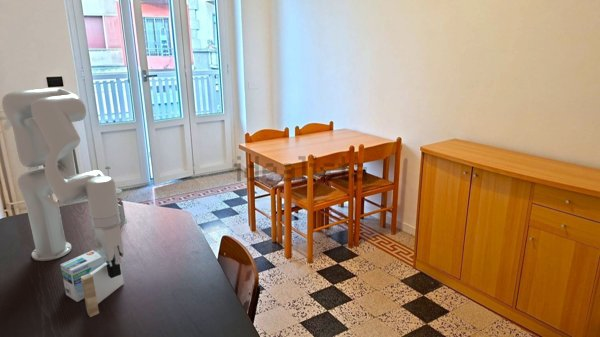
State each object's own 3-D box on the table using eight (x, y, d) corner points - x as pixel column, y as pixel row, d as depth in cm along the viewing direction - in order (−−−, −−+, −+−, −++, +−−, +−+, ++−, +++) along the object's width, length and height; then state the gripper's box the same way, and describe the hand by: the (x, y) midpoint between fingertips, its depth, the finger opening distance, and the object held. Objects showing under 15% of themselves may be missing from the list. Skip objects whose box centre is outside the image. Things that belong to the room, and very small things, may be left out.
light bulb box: (77, 302, 125) (70, 271, 121) (65, 295, 128) (58, 264, 125) (110, 285, 133) (105, 255, 130) (97, 278, 137) (92, 249, 133)
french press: (122, 227, 172) (114, 169, 164) (94, 227, 172) (84, 169, 165) (132, 217, 182) (124, 162, 174) (105, 217, 182) (96, 162, 174)
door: (90, 309, 121) (84, 279, 118) (87, 309, 121) (81, 278, 118) (123, 283, 134) (119, 255, 130) (120, 282, 134) (116, 255, 131)
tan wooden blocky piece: (67, 287, 132) (60, 253, 128) (75, 284, 134) (69, 250, 130) (90, 317, 118) (83, 280, 115) (99, 313, 120) (92, 276, 116)
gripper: (82, 215, 123) (92, 270, 128) (102, 231, 112) (112, 290, 118) (108, 208, 128) (117, 261, 133) (129, 223, 117) (138, 280, 123)
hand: (114, 275), depth 126 cm, fingers closed
